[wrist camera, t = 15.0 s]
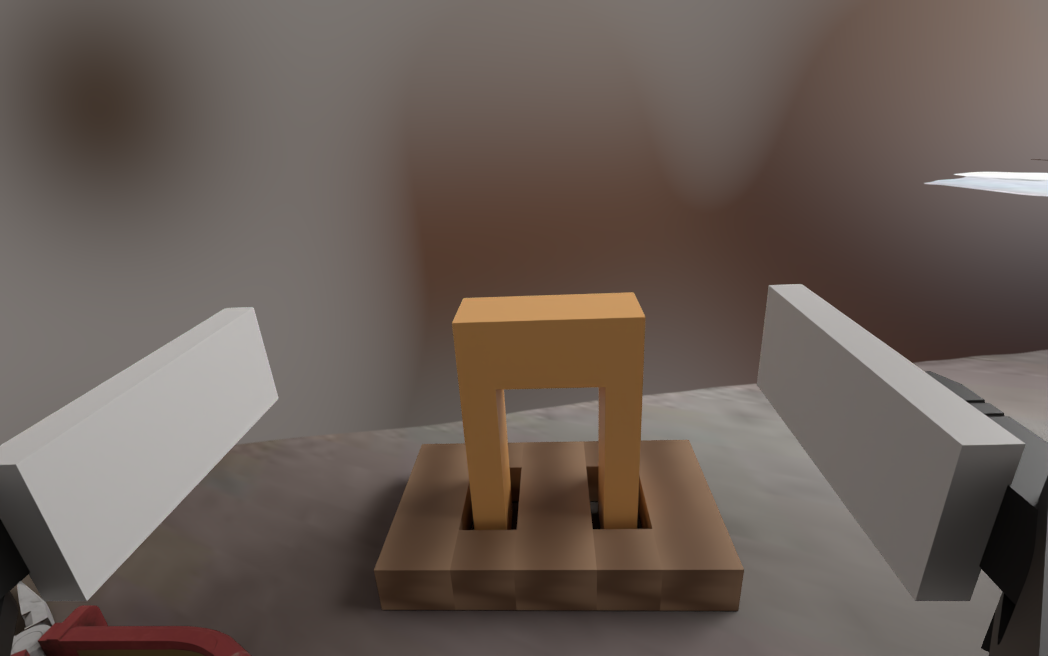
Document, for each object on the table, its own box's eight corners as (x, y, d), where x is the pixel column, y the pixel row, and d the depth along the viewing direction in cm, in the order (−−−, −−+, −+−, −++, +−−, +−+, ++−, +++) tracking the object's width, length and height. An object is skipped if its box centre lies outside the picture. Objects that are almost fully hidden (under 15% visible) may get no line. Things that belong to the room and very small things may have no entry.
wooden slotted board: (686, 473, 40) (688, 439, 39) (738, 610, 29) (743, 569, 28) (426, 476, 41) (422, 444, 40) (381, 609, 30) (373, 570, 29)
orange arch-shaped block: (627, 511, 37) (633, 292, 31) (635, 555, 33) (645, 317, 27) (484, 512, 37) (463, 298, 31) (477, 556, 34) (452, 323, 28)
